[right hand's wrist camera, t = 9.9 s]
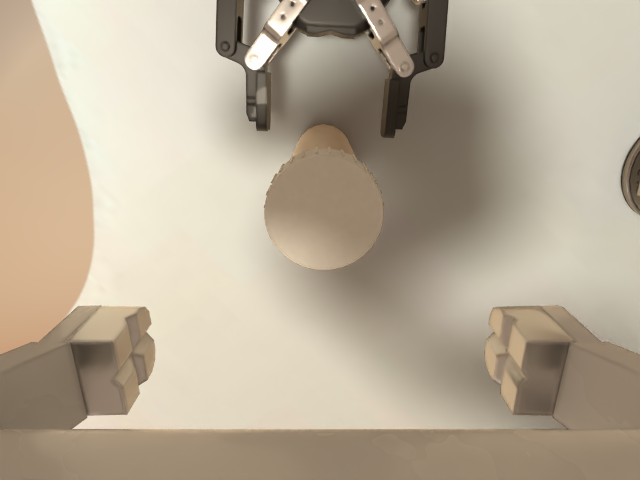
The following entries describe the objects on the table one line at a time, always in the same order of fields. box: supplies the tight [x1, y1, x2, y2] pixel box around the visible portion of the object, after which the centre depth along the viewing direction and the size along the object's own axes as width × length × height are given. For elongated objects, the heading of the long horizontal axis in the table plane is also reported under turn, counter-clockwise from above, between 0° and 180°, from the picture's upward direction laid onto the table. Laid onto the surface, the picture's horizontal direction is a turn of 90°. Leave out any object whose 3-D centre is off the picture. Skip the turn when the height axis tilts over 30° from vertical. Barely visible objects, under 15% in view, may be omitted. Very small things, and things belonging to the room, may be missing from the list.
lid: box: [264, 147, 384, 270], centre depth 20 cm, size 5×5×2 cm
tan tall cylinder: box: [292, 124, 357, 159], centre depth 28 cm, size 5×5×18 cm
